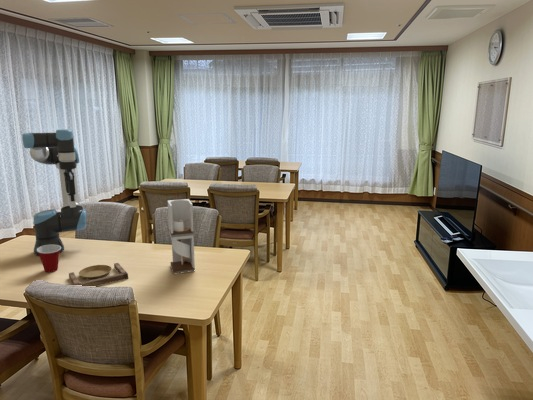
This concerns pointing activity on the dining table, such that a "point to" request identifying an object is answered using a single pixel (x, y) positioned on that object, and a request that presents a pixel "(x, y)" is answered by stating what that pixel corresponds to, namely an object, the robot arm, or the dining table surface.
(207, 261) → the dining table surface
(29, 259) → the dining table surface
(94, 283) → the bay
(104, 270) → the plant saucer
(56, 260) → the plastic cup
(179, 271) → the display case
